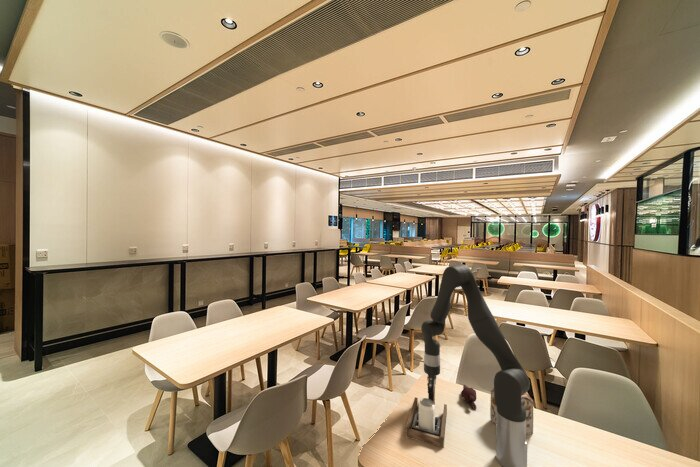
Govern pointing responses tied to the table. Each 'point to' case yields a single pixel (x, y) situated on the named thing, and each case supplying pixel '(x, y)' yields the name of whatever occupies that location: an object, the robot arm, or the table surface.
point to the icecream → (469, 395)
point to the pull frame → (437, 423)
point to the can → (426, 414)
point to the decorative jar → (525, 402)
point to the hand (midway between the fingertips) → (431, 398)
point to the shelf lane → (421, 435)
